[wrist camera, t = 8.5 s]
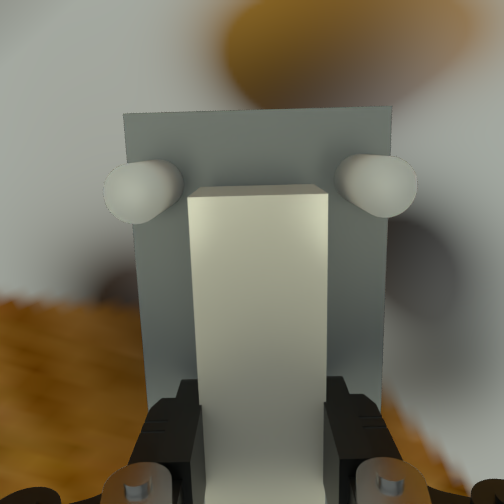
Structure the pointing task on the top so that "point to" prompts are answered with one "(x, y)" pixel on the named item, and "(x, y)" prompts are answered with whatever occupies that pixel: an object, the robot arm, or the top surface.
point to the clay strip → (261, 339)
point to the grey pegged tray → (262, 173)
